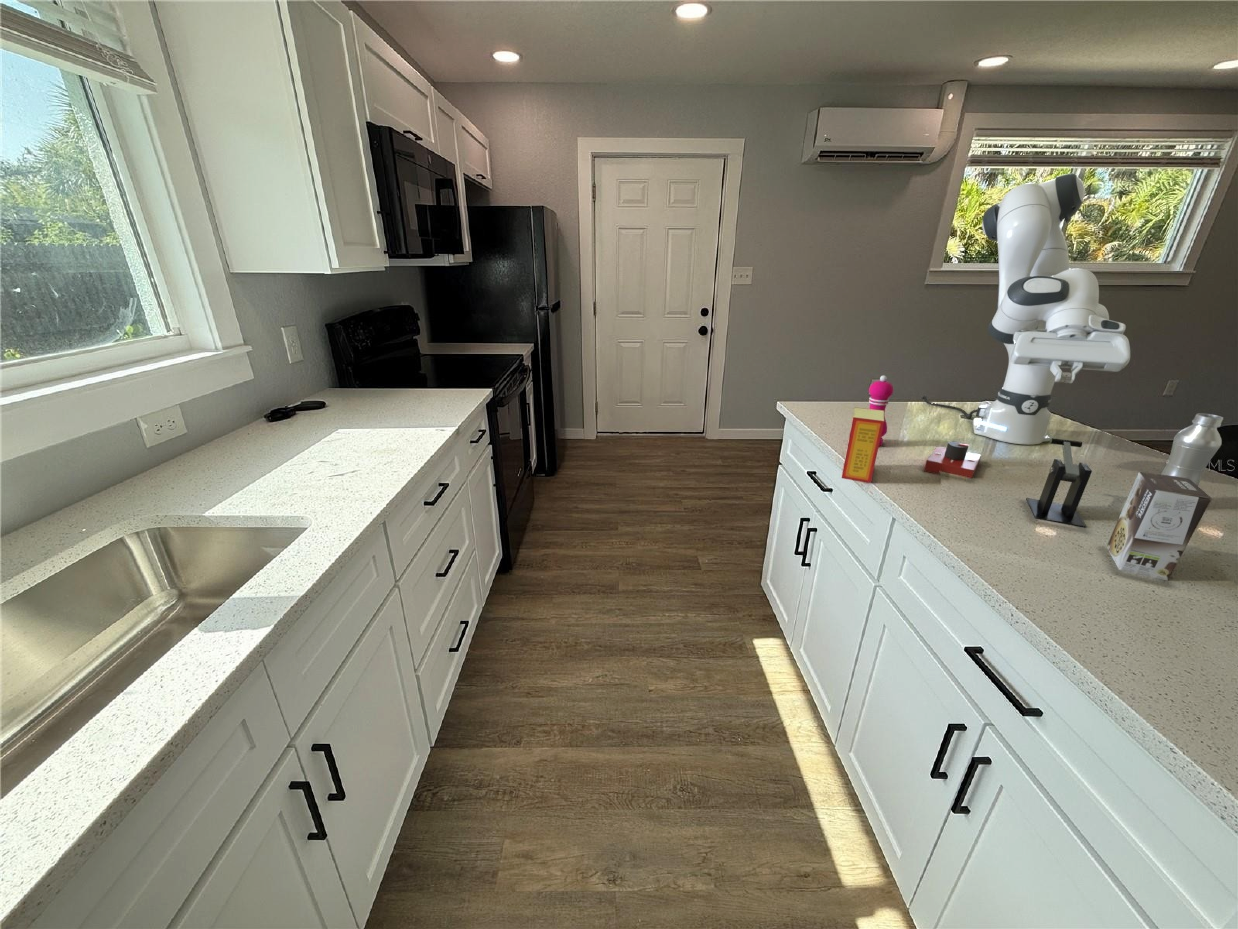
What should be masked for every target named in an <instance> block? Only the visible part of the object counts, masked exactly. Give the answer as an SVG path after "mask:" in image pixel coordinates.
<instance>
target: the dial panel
mask: <svg viewBox="0 0 1238 929" xmlns="http://www.w3.org/2000/svg"><path fill="white" fill-rule="evenodd" d="M946 448H947V447H945V446H940V445H939V446H938V445H937V446H936V447H935V448H934V449H933V451H932V452H931V453H930V455H929V456H928V458H927V459H926V462H925V465H924V470H923V471H924V472H927V473H932V474H935V475H936V474H937V475H941V474H940V472H942V473H946V474H952V475H955V476H956V475H957V476H960V477H964V478H970V479H972V478H973V476H974V474H975V472H976V470H977V467H978V466H979V464H980V462H981V458H982V454H979V453H974V452H969V451H967V453H966V457H965V459H964V460H952V459H949V458H947V457H945V456H944V455H945V451H946Z"/></svg>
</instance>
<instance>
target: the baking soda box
mask: <svg viewBox="0 0 1238 929" xmlns="http://www.w3.org/2000/svg"><path fill="white" fill-rule="evenodd" d="M852 414H853V415H852V419H851V424H850V430H849V435H848V442H847V446H846V450H845V457H844V461H843V467H842V474H841V479H844V480H850V481H856V482H863V483H867V484H872V480H873V474H874V471H875V470H874V469H875V466H876V460H877V456H878V452H879V448H880V446H879V443H880V438H881V434H882V429H883V424H884V410H875V409H869V408H865V407H854V409H853V413H852Z"/></svg>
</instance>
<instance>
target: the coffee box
mask: <svg viewBox="0 0 1238 929" xmlns="http://www.w3.org/2000/svg"><path fill="white" fill-rule="evenodd" d="M1212 500H1213V498H1212V497H1211V496H1210V495H1209V494H1208V493H1207V492H1205V491H1204V490H1203V489H1202V488H1201V487H1199V485H1198V486H1197V485H1196V484H1195V483H1194V482H1192V481H1191V480H1190V479H1188V478H1183V477H1176V476H1169V475H1161V473H1150V472H1143V471H1138V474H1137V476H1136V478H1135V480H1134V482H1133V485H1132V487H1131V489H1130V492H1129V494H1128V496H1127V498H1126V500H1125V503H1124V506H1123V508H1122V510H1121V512H1120V515H1119V518H1118V519H1117V522H1116V523H1115V526H1114V528H1113V530H1112V533H1111V536H1110V538H1109V540H1108V543H1107V544H1106V548H1107V550H1108V552H1109V554H1110V556H1111V558H1112V560H1113V561H1114V563H1115V565H1116V567H1117V568H1118V570H1119V571H1122V572H1127V573H1131V574H1136V575H1141V576H1145V577H1149V578H1152V579H1153V578H1154V579H1157V580H1162V581H1167V582H1168V581H1169V580H1170V579H1171V577H1172V574H1173V573H1174V571H1175V569H1176V567H1177V565H1178V563H1179V561H1180V560H1181V558H1182V555H1183V553H1184V551H1185V550H1186V548H1187V546H1188V544H1189V543H1190V540H1191V539H1192V537H1193V534H1194V533H1195V531H1196V529H1197V527H1198V526H1199V523H1200V521H1201V520H1202V518H1203V516H1204V514H1205V512H1206V510H1207V508H1208V507H1209V505H1210V503H1211V501H1212Z"/></svg>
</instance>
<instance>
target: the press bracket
mask: <svg viewBox="0 0 1238 929" xmlns="http://www.w3.org/2000/svg"><path fill="white" fill-rule="evenodd" d="M1077 465H1078V466H1079V473H1080V475H1079V477H1078V478H1077V480H1076V481H1075V483H1073V482H1070V486H1069V488H1068V490H1067V492H1066V493H1067V494H1066V496H1065V498H1064V500H1063V503H1059V502H1053V501H1054V499H1055V496H1056V494H1057V492H1058V488H1059V486H1060V483H1061V478H1062V476H1063V473H1064V470H1065V468H1066V467H1065V465H1064V462H1063V461H1062V460H1061V459H1058V458H1054V459H1053V461H1052V465H1051V467H1050V468H1049V473H1048V475H1047V477H1046V481H1045V483H1044V486H1043V488H1042V491H1041V494H1040V497H1039V499H1035V498H1029V497H1026V498H1025V500H1026V502H1027V505H1028V507H1029V509H1030V511H1031V513H1032V516H1033V517H1034V519H1035V520H1041V521H1045V522H1051V523H1057V524H1063V525H1066V526H1067V525H1068V526H1072V527H1078V528H1084V529H1087V526H1086V524H1085V522H1084V521H1083V519H1082V518H1081V516H1080V515H1079V513H1078V511H1077V509H1078V507H1079V504H1080V502H1081V500H1082V498H1083V495H1084V492H1085V489H1086V487H1087V485H1088V482H1089V479H1090V478H1091V474H1092V472H1093V470H1092V469H1091V468H1090V467H1089V465H1088V464H1087V463H1086V462H1079V463H1078V464H1077Z"/></svg>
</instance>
